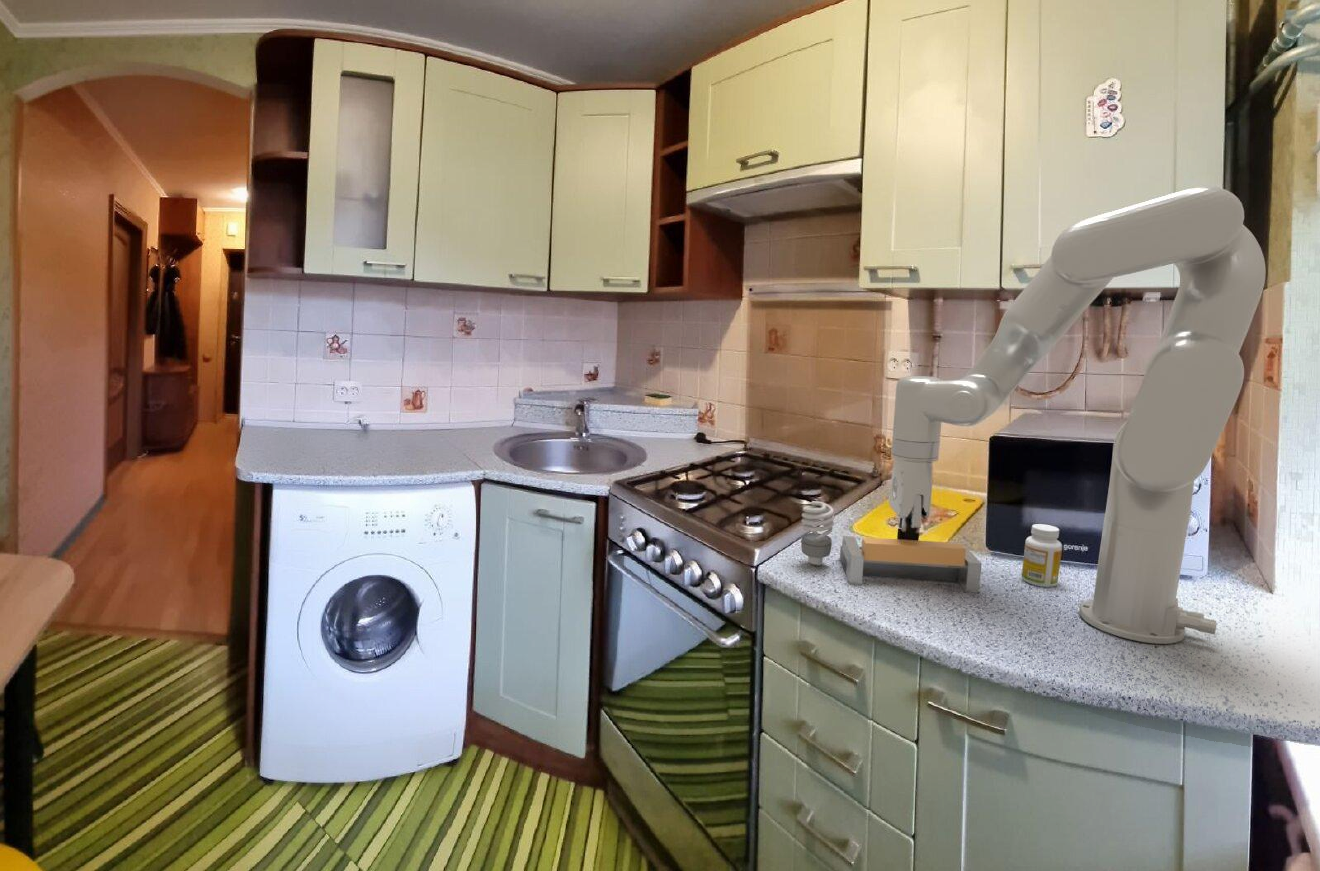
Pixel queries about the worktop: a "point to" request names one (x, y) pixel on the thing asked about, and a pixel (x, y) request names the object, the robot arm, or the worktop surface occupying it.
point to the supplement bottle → (1042, 556)
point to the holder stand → (907, 568)
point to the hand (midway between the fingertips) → (906, 552)
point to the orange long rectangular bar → (913, 551)
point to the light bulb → (816, 542)
